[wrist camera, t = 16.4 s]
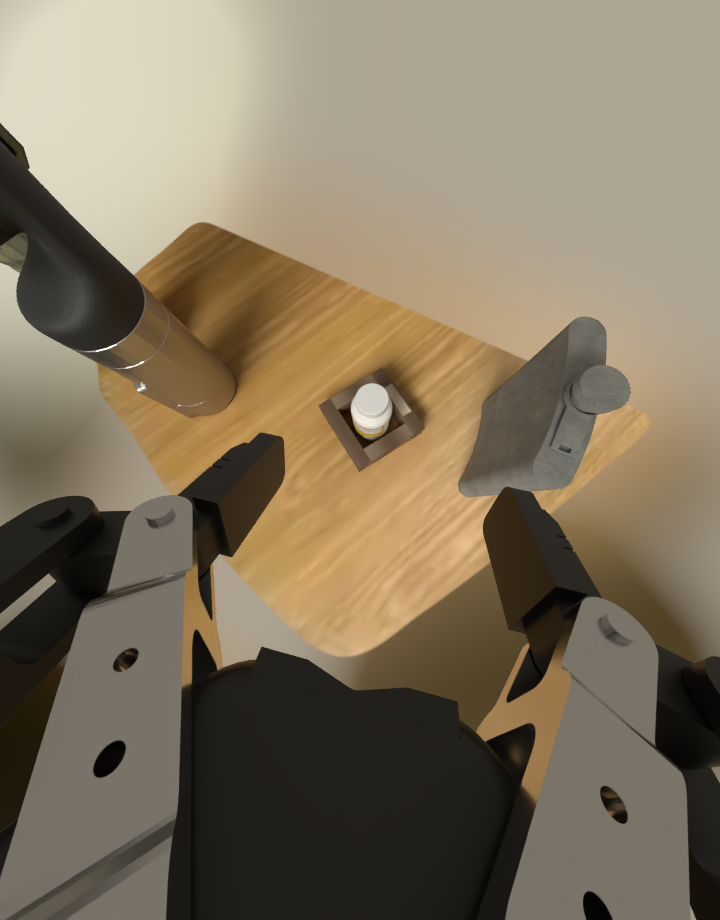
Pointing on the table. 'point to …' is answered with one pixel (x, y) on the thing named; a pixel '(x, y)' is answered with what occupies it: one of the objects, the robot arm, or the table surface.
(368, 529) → the table surface
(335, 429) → the socket block
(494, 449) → the hip flask
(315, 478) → the table surface
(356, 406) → the supplement bottle
